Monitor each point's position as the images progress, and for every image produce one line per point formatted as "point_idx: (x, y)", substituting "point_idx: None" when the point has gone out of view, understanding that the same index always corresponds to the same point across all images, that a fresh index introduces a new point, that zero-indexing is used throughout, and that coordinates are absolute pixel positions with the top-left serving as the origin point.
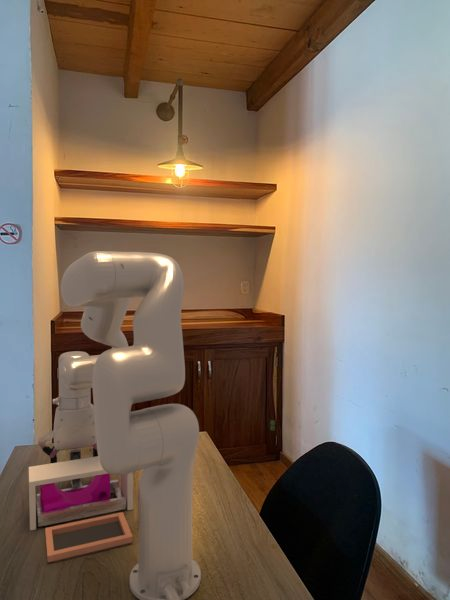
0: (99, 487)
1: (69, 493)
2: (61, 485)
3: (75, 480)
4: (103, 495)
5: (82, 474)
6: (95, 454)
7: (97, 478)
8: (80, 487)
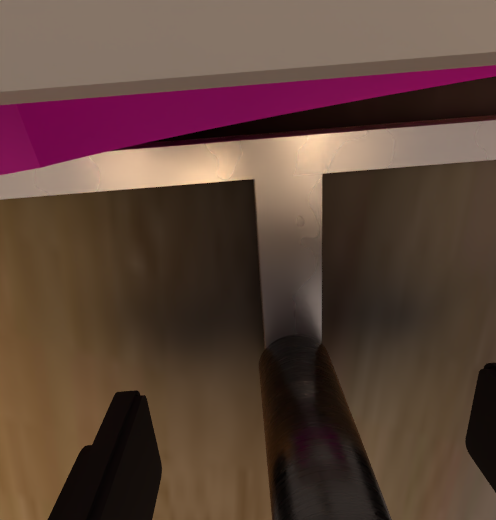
0: None
1: None
2: (363, 359)
3: (297, 334)
4: None
5: None
6: (86, 511)
7: None
8: (278, 149)
